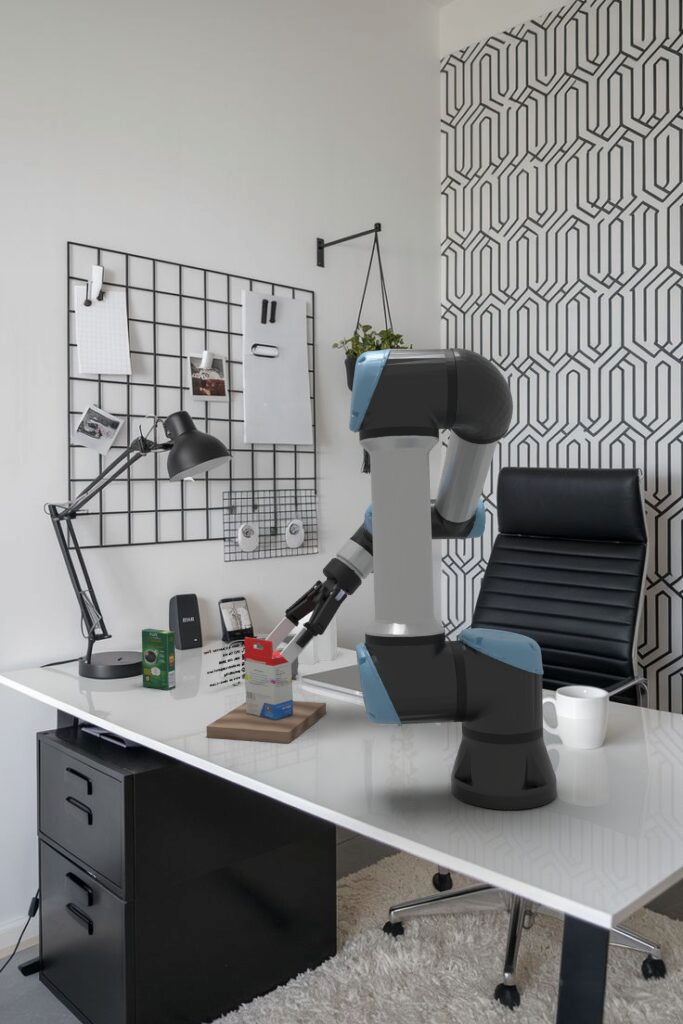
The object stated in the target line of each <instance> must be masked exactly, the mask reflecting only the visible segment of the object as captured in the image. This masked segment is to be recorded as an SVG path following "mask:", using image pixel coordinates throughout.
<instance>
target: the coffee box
mask: <svg viewBox="0 0 683 1024" xmlns="http://www.w3.org/2000/svg"><path fill="white" fill-rule="evenodd" d="M175 633H176V632H175V631H172V630H162V629H156V628H145V629H141V653H142V657H141V658H142V659H141V660H142V687H145V688H152V689H153V688H154V689H160V690H162V691H163V690H165V691H170V690H173V689H175V688H176V646H175V645H176V640H175V639H176V638H175V637H176V635H175Z"/></svg>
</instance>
